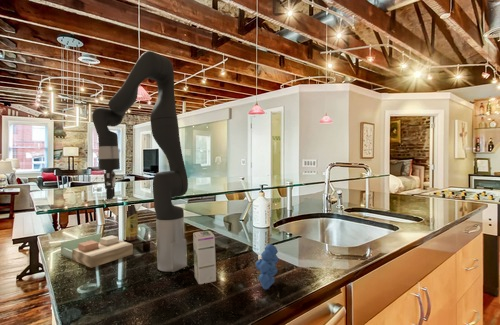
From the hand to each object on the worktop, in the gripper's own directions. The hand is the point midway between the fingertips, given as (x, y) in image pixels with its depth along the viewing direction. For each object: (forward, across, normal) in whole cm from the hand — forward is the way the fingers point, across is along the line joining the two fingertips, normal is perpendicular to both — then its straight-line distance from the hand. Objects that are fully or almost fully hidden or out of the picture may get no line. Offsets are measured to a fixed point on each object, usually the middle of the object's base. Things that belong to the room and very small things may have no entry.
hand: (110, 198), depth 114 cm
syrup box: (+24, -40, -29) cm, 55 cm away
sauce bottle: (+22, +16, -6) cm, 28 cm away
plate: (+22, -5, +3) cm, 23 cm away
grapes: (+24, -51, -45) cm, 72 cm away
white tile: (+18, 0, +1) cm, 18 cm away
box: (+22, +5, +10) cm, 24 cm away
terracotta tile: (+18, -4, +8) cm, 20 cm away
